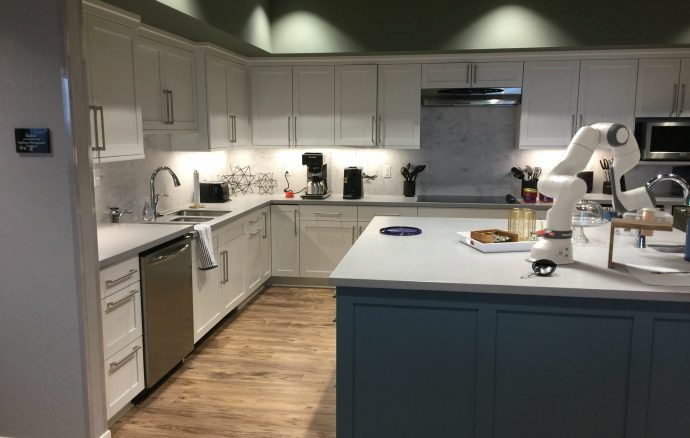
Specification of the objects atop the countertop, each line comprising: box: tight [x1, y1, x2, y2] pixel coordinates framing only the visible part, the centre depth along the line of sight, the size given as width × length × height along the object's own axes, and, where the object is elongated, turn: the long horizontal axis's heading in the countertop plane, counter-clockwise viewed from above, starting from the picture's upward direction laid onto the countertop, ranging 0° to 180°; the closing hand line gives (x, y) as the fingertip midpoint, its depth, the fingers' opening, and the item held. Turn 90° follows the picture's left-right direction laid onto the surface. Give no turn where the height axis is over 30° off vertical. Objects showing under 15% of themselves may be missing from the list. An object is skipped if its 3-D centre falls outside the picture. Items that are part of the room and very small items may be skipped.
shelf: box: [607, 217, 674, 269], centre depth 246 cm, size 15×23×20 cm, turn 64°
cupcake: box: [535, 220, 544, 237], centre depth 300 cm, size 9×8×12 cm
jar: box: [640, 208, 657, 237], centre depth 256 cm, size 5×5×12 cm
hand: (648, 220), depth 256 cm, fingers closed on jar, 5 cm apart
